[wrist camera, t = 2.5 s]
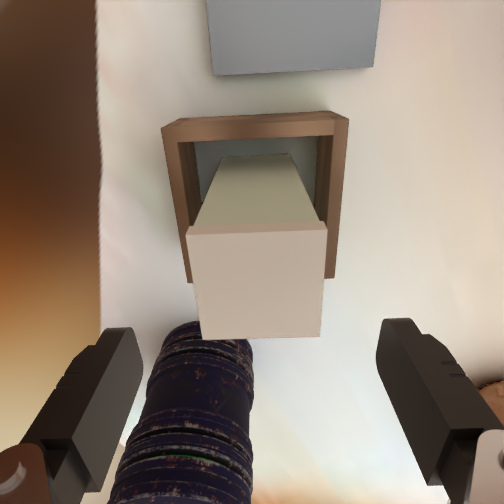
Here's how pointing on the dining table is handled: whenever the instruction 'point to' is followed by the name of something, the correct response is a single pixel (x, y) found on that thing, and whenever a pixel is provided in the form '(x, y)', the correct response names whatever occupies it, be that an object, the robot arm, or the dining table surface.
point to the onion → (494, 398)
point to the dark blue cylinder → (192, 426)
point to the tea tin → (258, 252)
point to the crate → (252, 127)
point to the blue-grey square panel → (291, 35)
